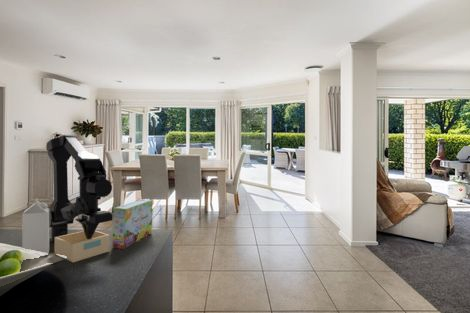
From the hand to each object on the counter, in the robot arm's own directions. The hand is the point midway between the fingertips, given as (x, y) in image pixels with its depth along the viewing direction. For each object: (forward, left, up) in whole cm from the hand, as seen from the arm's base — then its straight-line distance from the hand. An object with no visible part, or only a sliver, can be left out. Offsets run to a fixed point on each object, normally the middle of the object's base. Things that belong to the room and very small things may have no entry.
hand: (88, 239), depth 104 cm
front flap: (+2, 0, -6) cm, 6 cm away
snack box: (-2, +20, -6) cm, 21 cm away
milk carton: (-15, -10, -6) cm, 19 cm away
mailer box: (-4, 0, -6) cm, 7 cm away
